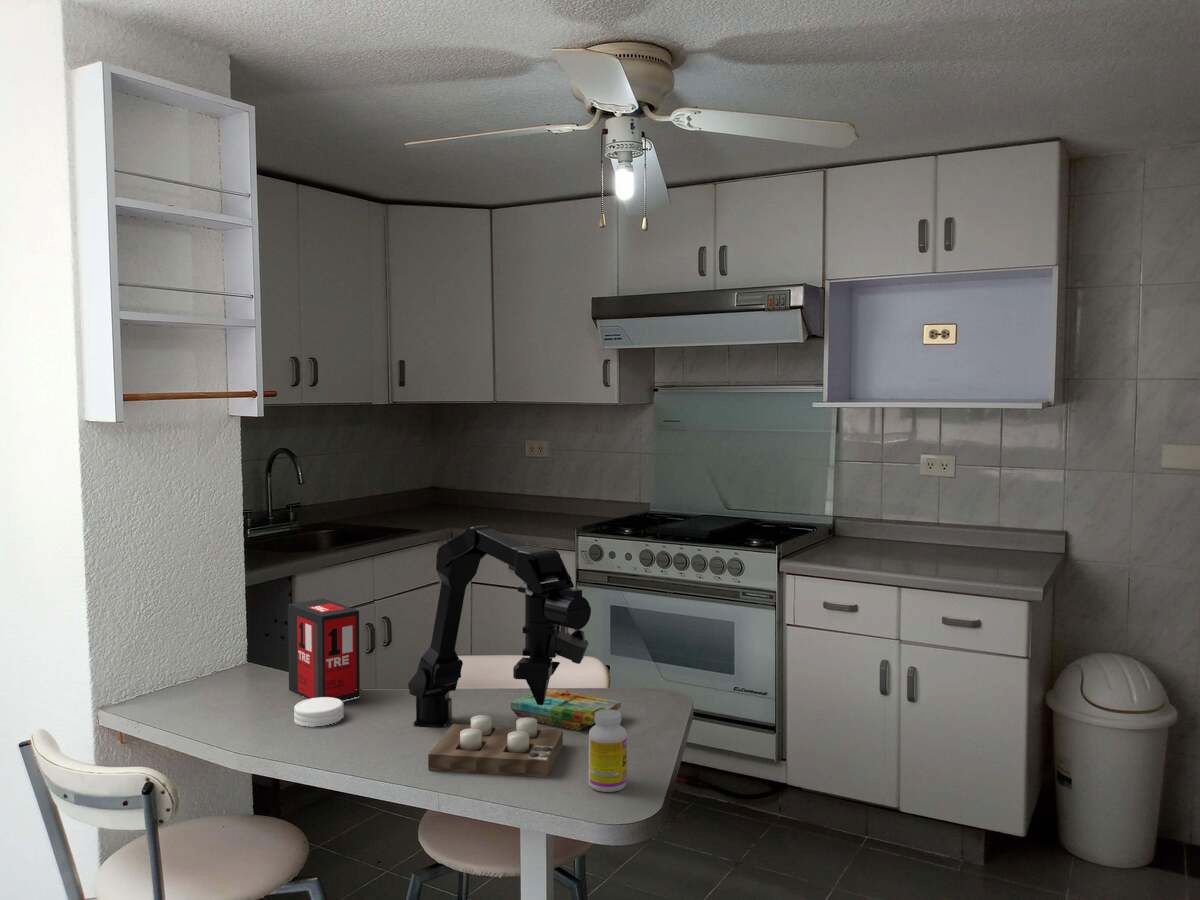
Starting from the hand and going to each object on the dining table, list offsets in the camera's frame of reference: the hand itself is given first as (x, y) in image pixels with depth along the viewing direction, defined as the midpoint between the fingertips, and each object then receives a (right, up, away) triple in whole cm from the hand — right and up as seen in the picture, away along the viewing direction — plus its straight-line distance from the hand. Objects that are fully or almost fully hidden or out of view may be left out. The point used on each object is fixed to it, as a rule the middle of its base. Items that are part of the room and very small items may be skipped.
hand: (540, 704), depth 172 cm
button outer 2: (-4, -9, +3) cm, 10 cm away
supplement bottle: (+12, -13, -6) cm, 19 cm away
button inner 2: (-3, -9, +10) cm, 14 cm away
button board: (-8, -12, +6) cm, 16 cm away
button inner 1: (-12, -9, +12) cm, 19 cm away
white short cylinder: (-48, -11, +27) cm, 56 cm away
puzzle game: (+4, -11, +28) cm, 30 cm away
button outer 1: (-13, -9, +4) cm, 16 cm away
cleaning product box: (-52, -10, +43) cm, 68 cm away
